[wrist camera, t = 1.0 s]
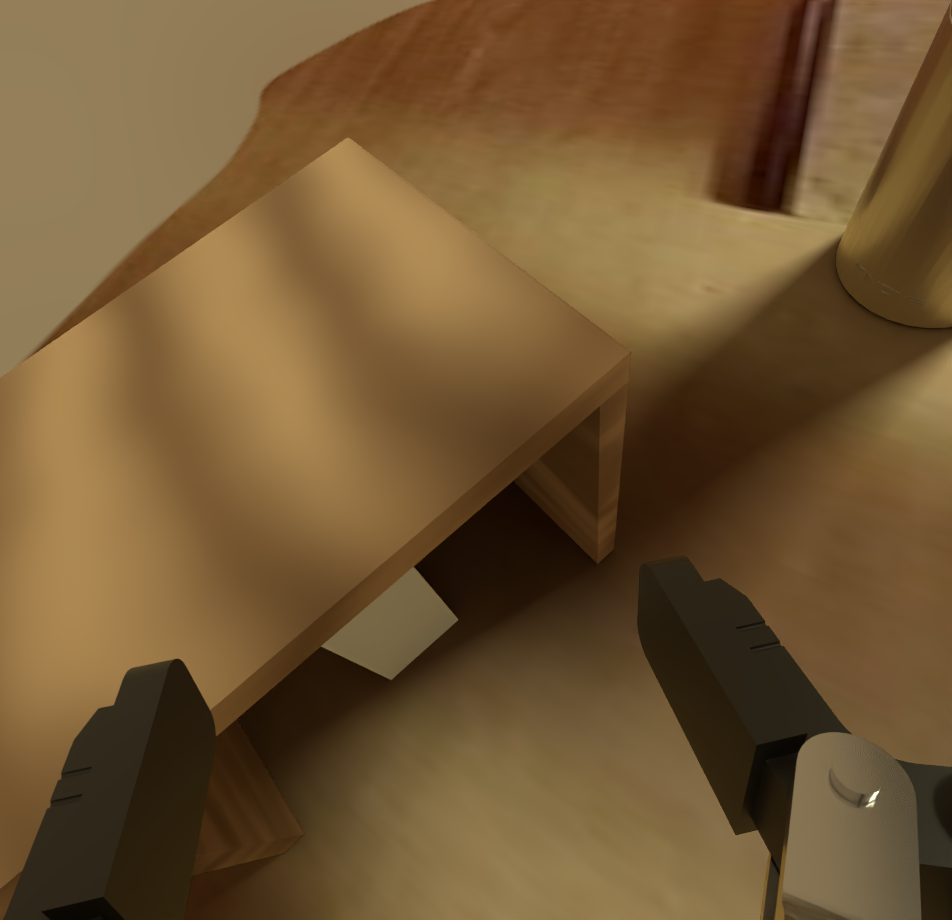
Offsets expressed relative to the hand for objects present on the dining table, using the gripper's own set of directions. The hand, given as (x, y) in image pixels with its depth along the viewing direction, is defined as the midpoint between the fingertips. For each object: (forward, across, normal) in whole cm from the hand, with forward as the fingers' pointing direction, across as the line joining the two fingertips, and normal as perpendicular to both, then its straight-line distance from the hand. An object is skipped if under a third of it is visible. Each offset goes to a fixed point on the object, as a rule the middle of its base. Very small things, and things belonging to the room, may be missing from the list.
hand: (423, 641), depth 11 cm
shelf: (+18, +3, +15) cm, 24 cm away
